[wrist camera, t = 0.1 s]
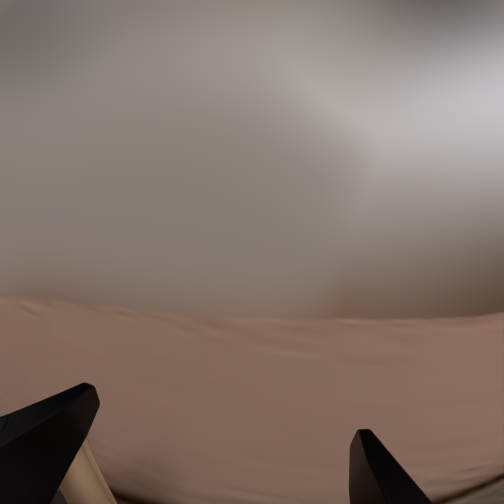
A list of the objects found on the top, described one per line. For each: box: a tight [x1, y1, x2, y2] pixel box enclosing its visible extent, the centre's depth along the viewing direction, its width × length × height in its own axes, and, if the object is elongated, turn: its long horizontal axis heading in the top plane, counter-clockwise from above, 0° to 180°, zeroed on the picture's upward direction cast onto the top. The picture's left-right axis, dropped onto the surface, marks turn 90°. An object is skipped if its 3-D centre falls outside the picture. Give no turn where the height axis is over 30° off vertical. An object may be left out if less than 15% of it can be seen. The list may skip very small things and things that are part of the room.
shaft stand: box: [58, 439, 117, 504], centre depth 15 cm, size 23×12×10 cm, turn 111°
